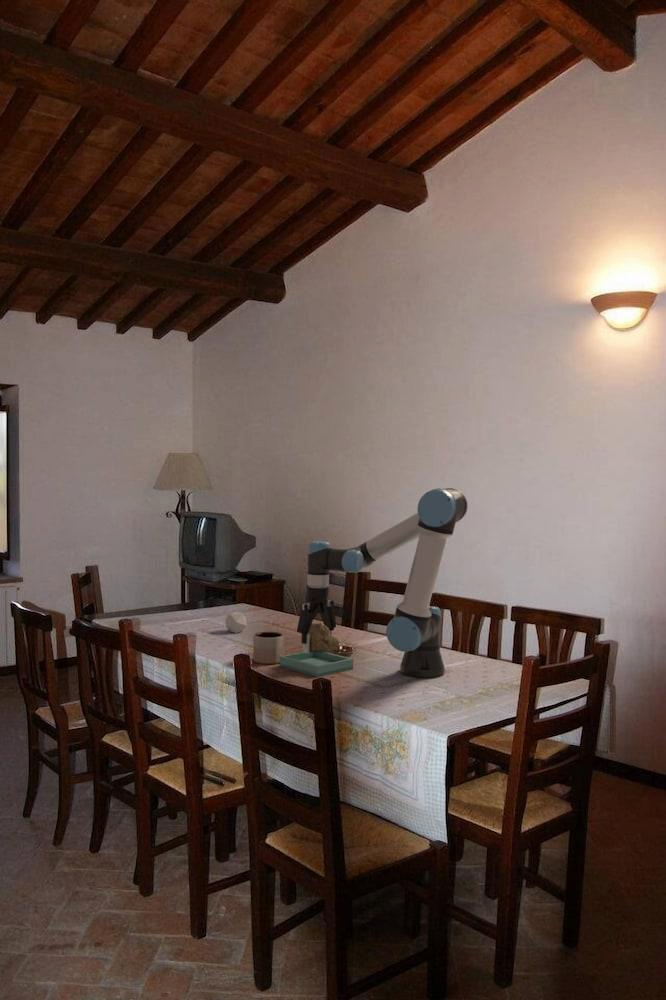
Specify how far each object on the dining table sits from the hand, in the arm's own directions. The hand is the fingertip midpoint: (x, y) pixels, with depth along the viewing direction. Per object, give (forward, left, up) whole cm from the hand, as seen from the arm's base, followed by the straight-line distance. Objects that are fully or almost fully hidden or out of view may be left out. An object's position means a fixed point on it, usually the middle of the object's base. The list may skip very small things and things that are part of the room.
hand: (316, 650), depth 289 cm
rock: (+1, -1, -1) cm, 2 cm away
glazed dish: (0, 0, -6) cm, 6 cm away
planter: (+18, +6, -6) cm, 20 cm away
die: (+65, -16, -6) cm, 67 cm away
